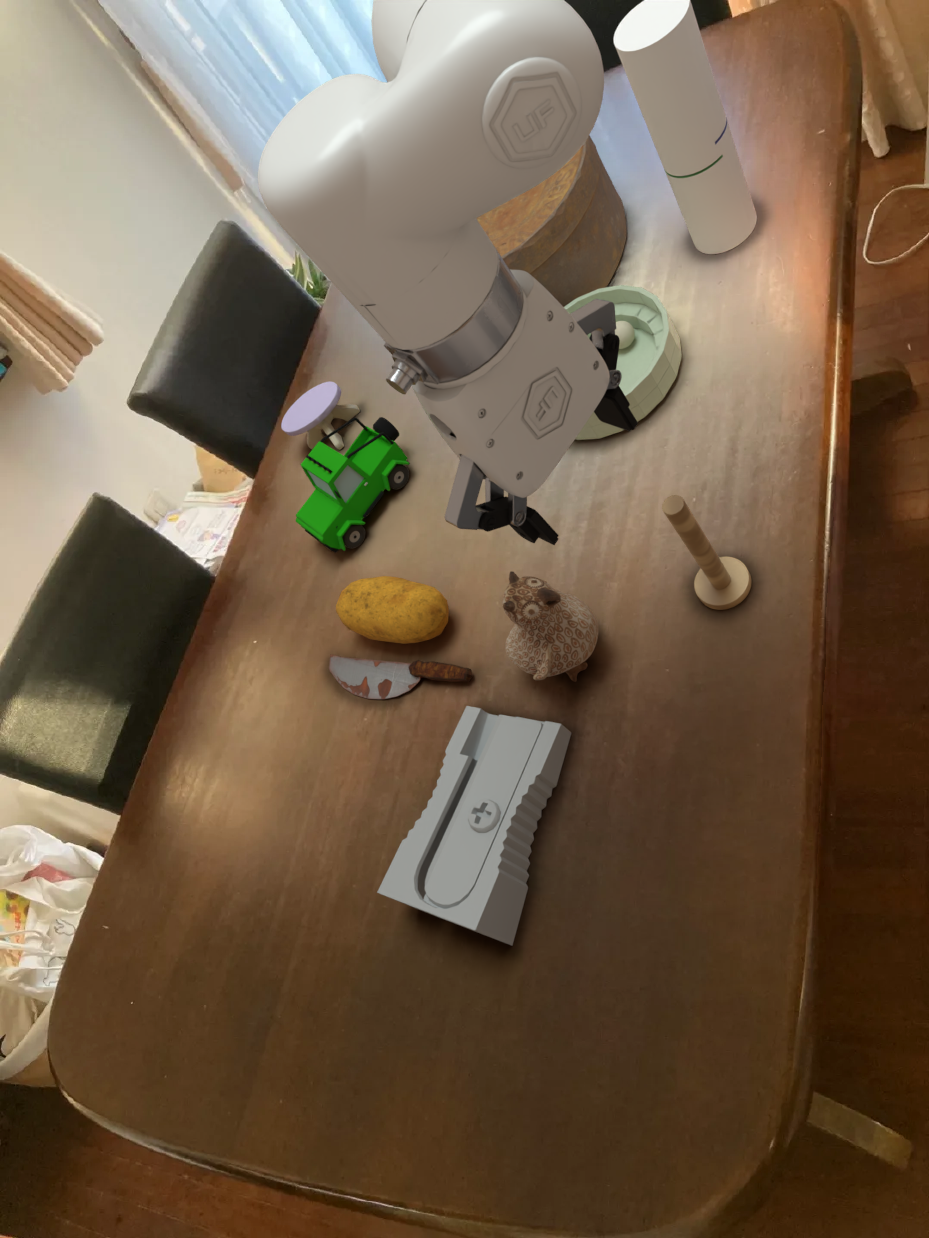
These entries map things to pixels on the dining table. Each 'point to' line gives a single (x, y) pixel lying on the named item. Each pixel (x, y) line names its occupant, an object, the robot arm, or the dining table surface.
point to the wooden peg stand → (708, 560)
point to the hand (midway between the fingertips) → (581, 478)
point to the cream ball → (624, 333)
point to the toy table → (318, 414)
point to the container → (563, 228)
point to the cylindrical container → (687, 121)
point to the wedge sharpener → (480, 824)
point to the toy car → (350, 484)
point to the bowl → (637, 352)
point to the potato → (393, 609)
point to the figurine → (547, 628)
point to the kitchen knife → (390, 675)
